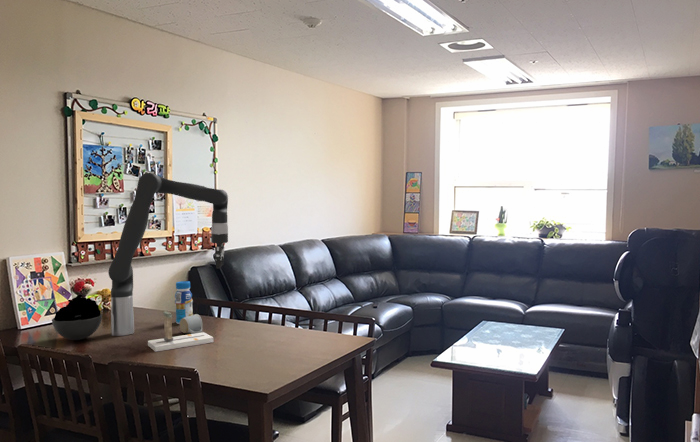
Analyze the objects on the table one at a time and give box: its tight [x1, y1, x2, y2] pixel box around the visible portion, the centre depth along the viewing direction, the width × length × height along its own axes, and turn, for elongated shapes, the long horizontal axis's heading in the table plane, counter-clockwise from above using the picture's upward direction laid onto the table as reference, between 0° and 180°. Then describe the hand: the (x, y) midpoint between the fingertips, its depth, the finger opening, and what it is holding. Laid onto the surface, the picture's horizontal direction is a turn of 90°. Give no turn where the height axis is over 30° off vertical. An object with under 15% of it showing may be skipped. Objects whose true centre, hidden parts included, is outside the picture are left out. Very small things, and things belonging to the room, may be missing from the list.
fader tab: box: [163, 310, 173, 341], centre depth 241 cm, size 3×6×12 cm, turn 33°
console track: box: [147, 331, 214, 352], centre depth 244 cm, size 24×12×2 cm, turn 123°
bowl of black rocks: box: [51, 294, 103, 341], centre depth 256 cm, size 20×20×19 cm
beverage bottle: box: [174, 280, 194, 325], centre depth 285 cm, size 8×8×20 cm
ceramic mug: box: [178, 313, 203, 334], centre depth 264 cm, size 11×8×8 cm
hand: (219, 267), depth 271 cm, fingers open, 8 cm apart
